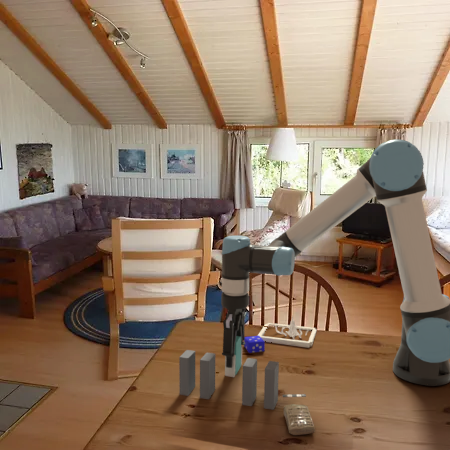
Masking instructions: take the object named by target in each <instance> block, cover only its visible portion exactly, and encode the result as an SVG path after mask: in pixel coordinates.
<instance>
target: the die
mask: <svg viewBox="0 0 450 450" xmlns="http://www.w3.org/2000/svg"><path fill="white" fill-rule="evenodd" d="M244 338H245V339H244V341H243V342H245V345H243V346H244V348H245V350H247V351H246V352H248V354H251V353H261V352H265V347H266V346H265V343H266V342H265V341H264V340H263V339H262V338H261V337H260V336H257V335H254V336H253V335H252V336H244Z"/></svg>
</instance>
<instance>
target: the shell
mask: <svg viewBox="0 0 450 450" xmlns="http://www.w3.org/2000/svg"><path fill="white" fill-rule="evenodd" d="M295 321H296V320H294V316H293V315H291V320H290V323H289V325H290V328H289V327H288V326H287V327H288V328H287V329H288V331H285V332H284V330H286V327H281V331H280V330H278V326H276V325H275V324H276V323H274V324H273V323H272V322H271V323H272V324H273V325H275V326H274V328H275V329H274V330H275V331H276V333H278V334H279V335H284V336H285V337H287V335H288V336H289V338H292V340H296V339H295V337H297V336H298V337H299V339H302V335H303V331H302V329H301V328H300V329H297V328H296V326H297V325H296V322H295ZM308 333H309V330H306V331H305V336H307V335H308Z"/></svg>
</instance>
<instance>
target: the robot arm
mask: <svg viewBox="0 0 450 450" xmlns="http://www.w3.org/2000/svg"><path fill="white" fill-rule="evenodd" d="M424 164H425V163H424V158H423V155H422V153H421V152H420V149H418V147H417V146H416V145H414V144H413V143H412V142H410V141H408V140H404V139H399V138H398V139H397V138H396V139H389V140H387V141H384V142H382V143H380V144H379V145H378V146H376V148H375V149H374V150H373V152H372V153H371V156H370V158H368V160H366V162H365V163H364V164H362V165H361V166H360V167H359V168H358V169H356V175H354V176H353V177H352V178H351V179H350V180H348V181H347V182H346V183H345V184H343V185H342V186H341V187H339V188H338V189H337V190H336V191H335V192H333V193H332V194H330V195H329V196H327V198H325V199H324V200H323V201H322V202H320V203H319V204H318V205H317V206H316V207H314V208H313V209H312V210H311V211H309V212H308V213H307V214H305V215H304V216H303V217H301V218H300V219H299V220H298V221H297V222H295V223H294V224H293V225H292V226H290V227H289V228H288V229H286V230H285V231H284V232H283V233H281V234H280V235H279V236H278V237H276V238H275V239H273V240H272V241H271V242H270V243H269V244H268V245H259V244H252V243H251V238H250V237H248V236H246V235H245V236H244V235H228V236H226V237H224V238H223V240H222V248H221V250H222V251H221V278H220V280H219V282H220V283H221V291H222V292H221V294H220V295H221V296H220V297H221V299H220V300H221V302H220V303H221V306H222V307H223V308H224V309H227V313H226V314H225V319H223V322H222V325H223V335H222V336H223V338H222V352H221V355H222V356H223V357H224V376H226V377H231V378H235V377H236V375H235V358H236V355H235V343H236V336H241V366H243V346H244V345H245V342H244V339H245V338H244V337H245V317H246V316H245V313H246V308H247V307H249V302H250V301H249V300H250V299H249V297H250V296H249V295H250V294H249V291H250V273H251V274H252V273H253V274H260V275H261V274H262V275H274V276H279V277H280V276H281V277H282V276H291V275H292V274H293V273H294V269H295V265H296V264H295V263H296V261H295V260H296V257H297V256H298V255H300V254H301V253H303V251H305V250H306V249H307V248H308V247H310V246H311V245H313V244H314V243H315V242H316V241H318V240H319V239H320V238H322V237H323V236H325V235H326V234H327V233H328V232H330V231H331V230H332V229H334V228H335V227H336V226H337V225H339V224H341V222H343V221H344V220H346V219H347V218H348V217H350V216H351V215H352V214H354V213H355V212H356V211H357V210H359V209H361V207H363V206H364V205H365V204H367V202H369V201H370V200H372V199H373V198H375V197H376V201H377V202H378V203H379V204H382V205H383V206H384V208H385V209H384V210H385V213H386V218H387V222H388V227H389V232H390V236H391V240H392V244H393V245H392V246H393V249H394V254H395V258H396V265H397V268H398V274H399V278H400V282H401V288H402V292H403V300H402V303H401V304H400V306H399V307H400V308H399V309H400V313H401V319H402V321H401V322H402V323H401V337H400V345H399V347H398V350H397V352H396V355H395V356H394V359H393V362H392V372H393V373H394V374H395V375H396V376H397V377H398V378H399V379H402V380H403V381H406V382H409V383H413V384H416V385H421V386H432V387H434V386H443V385H444V386H445V385H446V384H448V383H450V296H448V295H447V294H443V293H442V289H441V288H442V287H441V283H440V279H439V275H438V270H437V264H436V260H435V255H434V252H433V245H432V242H431V235H430V232H429V226H428V222H427V218H426V213H425V212H426V211H425V208H424V203H423V197H424V195H426V193H427V191H428V189H427V184H426V179H425V173H424Z"/></svg>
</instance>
